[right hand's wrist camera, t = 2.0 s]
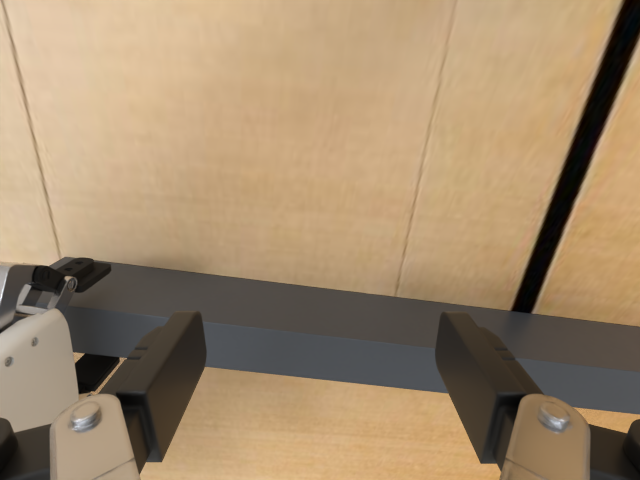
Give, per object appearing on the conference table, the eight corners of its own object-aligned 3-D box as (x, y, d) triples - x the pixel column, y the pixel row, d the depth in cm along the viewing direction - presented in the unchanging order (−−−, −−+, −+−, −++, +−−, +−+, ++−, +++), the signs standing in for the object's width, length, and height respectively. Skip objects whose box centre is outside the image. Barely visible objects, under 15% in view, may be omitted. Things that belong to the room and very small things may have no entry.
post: (657, 328, 38) (743, 384, 30) (638, 362, 40) (715, 423, 32) (65, 256, 35) (-8, 297, 27) (70, 295, 37) (3, 344, 29)
